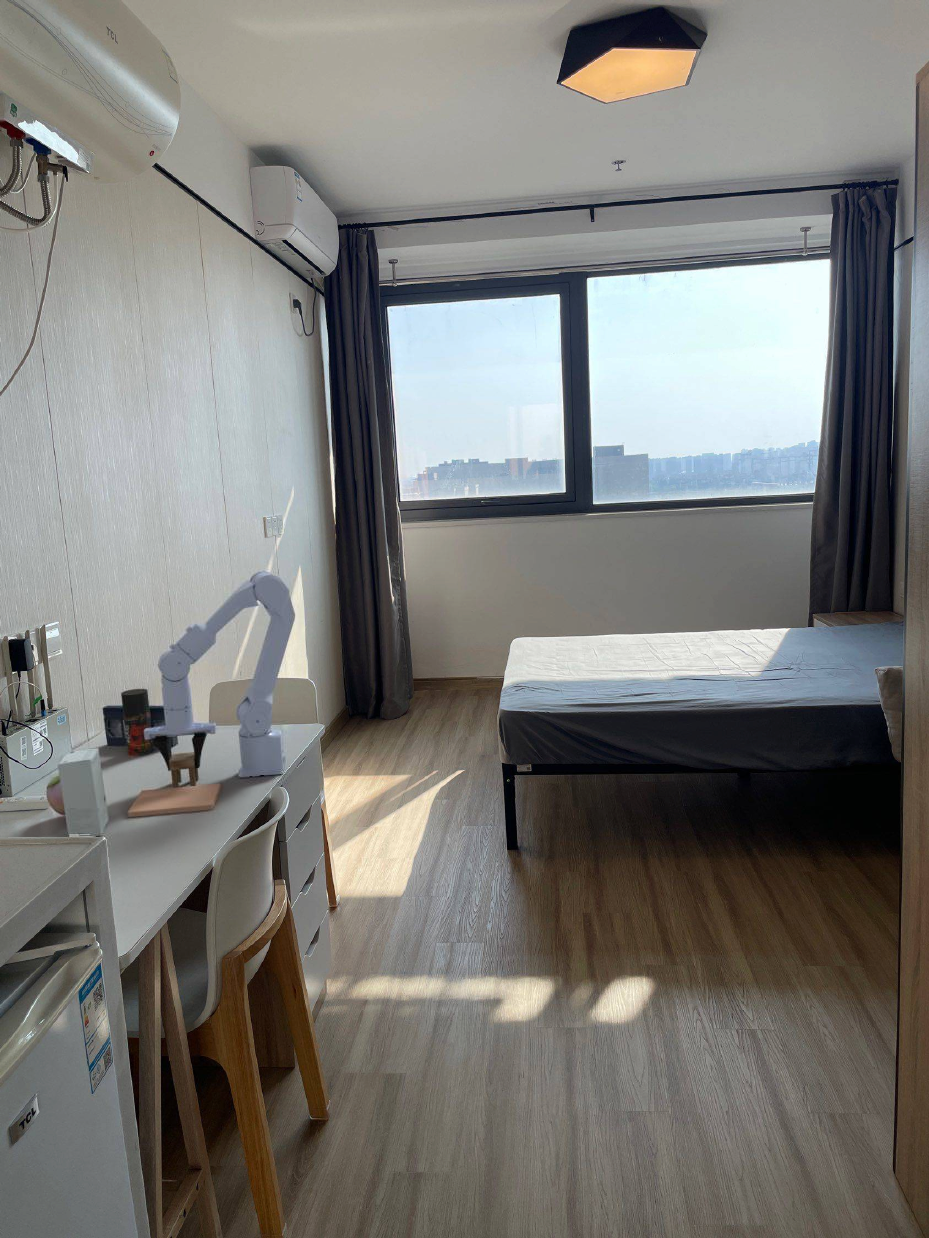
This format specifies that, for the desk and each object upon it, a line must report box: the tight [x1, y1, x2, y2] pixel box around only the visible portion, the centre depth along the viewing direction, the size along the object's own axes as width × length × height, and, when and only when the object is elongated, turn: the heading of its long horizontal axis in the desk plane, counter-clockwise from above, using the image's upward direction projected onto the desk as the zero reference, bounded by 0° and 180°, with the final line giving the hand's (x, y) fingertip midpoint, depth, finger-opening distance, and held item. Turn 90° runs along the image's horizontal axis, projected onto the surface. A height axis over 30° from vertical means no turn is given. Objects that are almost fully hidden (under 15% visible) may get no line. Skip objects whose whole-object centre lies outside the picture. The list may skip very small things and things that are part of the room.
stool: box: [169, 751, 200, 788], centre depth 186 cm, size 5×5×6 cm
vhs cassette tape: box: [102, 704, 179, 748], centre depth 215 cm, size 18×3×10 cm, turn 77°
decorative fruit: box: [45, 775, 65, 817], centre depth 170 cm, size 9×8×10 cm
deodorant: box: [120, 688, 155, 757], centre depth 209 cm, size 6×6×15 cm
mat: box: [127, 783, 222, 818], centre depth 176 cm, size 16×12×1 cm
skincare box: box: [57, 748, 110, 837], centre depth 162 cm, size 8×6×15 cm
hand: (184, 768), depth 186 cm, fingers closed on stool, 5 cm apart
